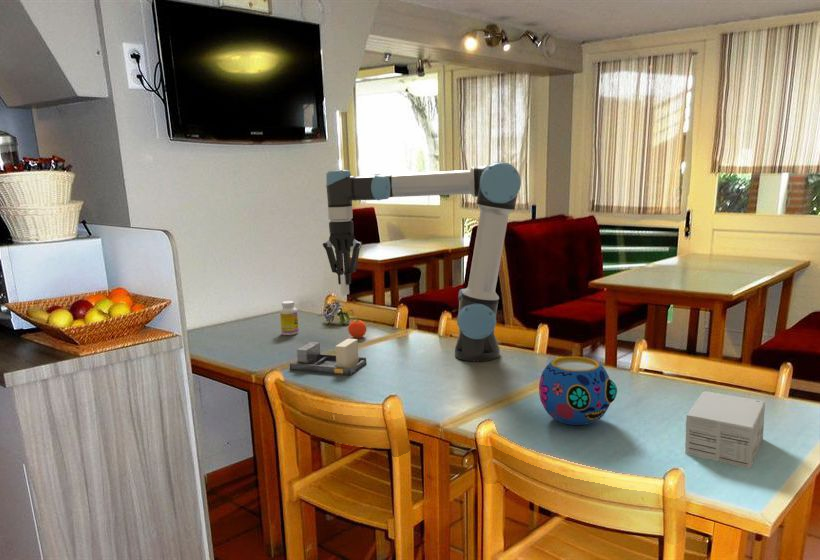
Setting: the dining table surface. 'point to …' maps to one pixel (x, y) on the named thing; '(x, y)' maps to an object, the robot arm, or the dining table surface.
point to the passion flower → (335, 312)
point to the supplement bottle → (289, 318)
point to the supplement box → (725, 428)
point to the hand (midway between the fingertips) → (345, 294)
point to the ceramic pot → (576, 390)
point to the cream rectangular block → (347, 353)
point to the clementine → (357, 328)
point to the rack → (321, 361)
